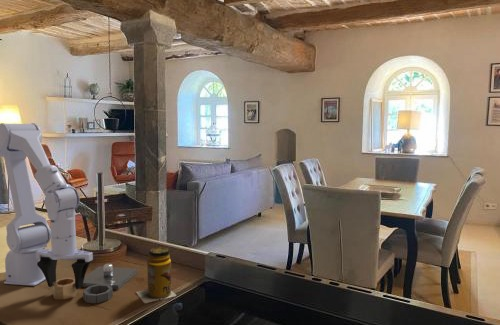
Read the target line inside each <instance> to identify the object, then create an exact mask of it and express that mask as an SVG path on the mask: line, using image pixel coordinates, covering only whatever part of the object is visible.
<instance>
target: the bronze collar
mask: <svg viewBox="0 0 500 325" xmlns="http://www.w3.org/2000/svg"><path fill="white" fill-rule="evenodd" d="M78 294H79V289H76V287H75V277H63V278H59V279H56V281H55V282H53V286H52V296H53V298H54V300H62V301H64V300H68V299H72V298H74V297H76V296H77V295H78Z"/></svg>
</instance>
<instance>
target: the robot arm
mask: <svg viewBox="0 0 500 325" xmlns="http://www.w3.org/2000/svg"><path fill="white" fill-rule="evenodd" d="M42 140H43V133H42V130H41V127H40V126H39V125H38V124H37V123H2V122H1V123H0V157H2V158H3V159H4V165H5V169H6V174H7V179H8V185H9V190H10V195H11V200H12V205H13V209H14V214H15V215H14V217H13V219H12V220H10V222H8V223H7V225H6V239H5V240H6V244H7V248H9V251H8V252H7V253H6V255H5V259H4V264H5V265H4V266H5V281H3V284H5V285H20V286H29V287H35V286H37V285H39V284H40V283H42V282H43V281H46V284H47V286H48V288H53V282H55V281H56V280H57V265H58V264H57V263H58V260H66V261H75V262H74V263H71V269H72V271H73V274H74V275H73V276H74V278H75V287H76V289H78V290H79V289H81V288H83V287H82V286H83V281H84V277H85V276H86V275H87V274H86V273H87V271H88V268H89V266H90V264H91V262H92V261H93V260H94V255H93V254H94V252H92V251H91V252H90V251H86V250H81V249H77V237H76V236H77V231H76V230H77V229H76V209H77V208H78V207H79V205H80V200H81V199H80V195H79V192H78V189H77V188H75V187H74V186H72V185H71V184H69V183H67V182H66V180H65V178H64V177H63V175H62V173H61V171H60V170H59V168H58V166H56V165H53V164H51V163H50V160H49V158H48V156H47V154H46V152H45V149H44V147H43V145H42ZM26 158H27V159H28V160H29V162H30V163H31V164H32V166H33V167H34V169H35V170H36V172H35V173H34V174H35V175H34V179H35V180H36V181H37V183H38V185H39V186H40V189H41V190H42V193H43V194H44V196H45V198H44V200H43V203H44V207H45V209H46V212H47V217H48V220H50V226H49V224H48V220H47V218H46V217H45V216H43V215H42V214H40V213H38V212H37V210H36V206H35V200H34V196H33V192H32V187H31V186H32V185H31V180H30V176H29V172H28V165H27V161H26ZM31 224H32V225H31ZM21 226H23V227H21ZM50 241H51V242H50ZM49 243H50V244H51V249H50V248H47V247H48V244H49ZM45 248H46V249H45Z"/></svg>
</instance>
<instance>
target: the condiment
mask: <svg viewBox="0 0 500 325" xmlns="http://www.w3.org/2000/svg"><path fill="white" fill-rule="evenodd" d="M146 263H147V264H146V265H147V289H145V290H140V291H135V292H136V295H137V296H138V298H140V300H141V301H142V302H143V303H144V304H148V303H152V302H157V301H160V300H165V299H169V298H173V297H176V296H177V294H176V293H175V292H174V291H172V260H171V258H170V249H169V248H168V247H163V246H159V247H158V246H157V247H153V248H151V249H149V251H148V260H147V262H146ZM161 298H162V299H161ZM159 299H160V300H159Z"/></svg>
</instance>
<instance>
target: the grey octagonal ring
mask: <svg viewBox="0 0 500 325" xmlns="http://www.w3.org/2000/svg"><path fill="white" fill-rule="evenodd" d="M113 291H114V289H113V288H112V287H111V286H110V285H106V284H98V285H93V286H89V287H85V289H83V291H82V293H83V294H82V295H83V297H82V298H83V300H84V302H85V303H88V304H99V303H103V302H107V301H109V300H110V299H111V298H112V297H113V296H114V294H113V293H114V292H113ZM100 292H102V293H100Z"/></svg>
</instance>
